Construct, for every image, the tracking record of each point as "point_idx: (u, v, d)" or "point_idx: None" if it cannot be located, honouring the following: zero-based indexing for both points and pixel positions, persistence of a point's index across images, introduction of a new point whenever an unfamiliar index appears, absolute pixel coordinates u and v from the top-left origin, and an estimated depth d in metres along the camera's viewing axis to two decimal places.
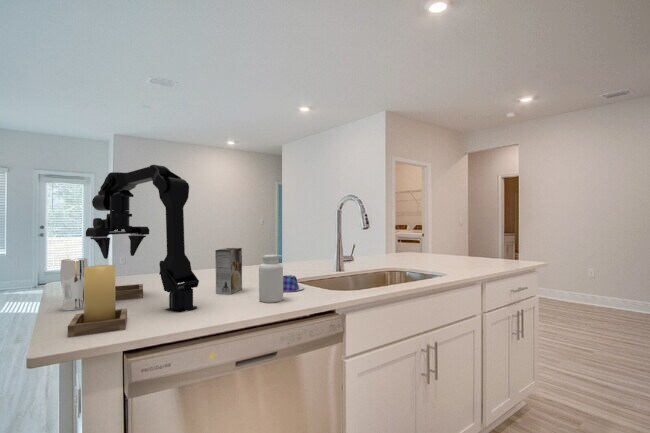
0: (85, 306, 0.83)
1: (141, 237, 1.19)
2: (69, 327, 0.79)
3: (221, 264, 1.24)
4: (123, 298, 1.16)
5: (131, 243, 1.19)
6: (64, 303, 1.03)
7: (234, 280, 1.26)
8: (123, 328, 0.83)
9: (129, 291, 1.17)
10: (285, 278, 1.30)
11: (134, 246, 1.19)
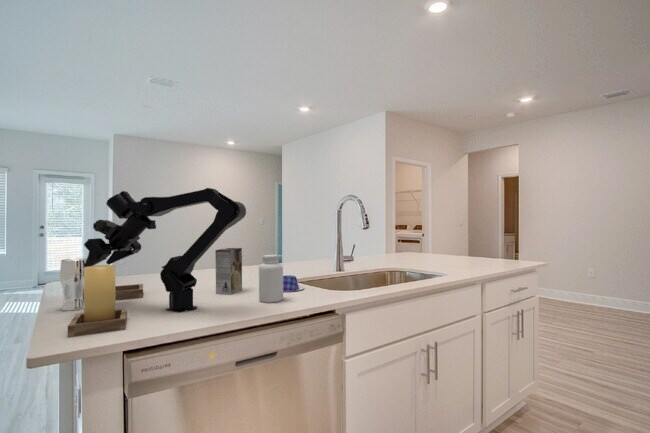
0: (85, 306, 0.83)
1: (129, 255, 1.11)
2: (69, 327, 0.79)
3: (221, 264, 1.24)
4: (123, 298, 1.16)
5: (114, 252, 1.10)
6: (64, 303, 1.03)
7: (234, 280, 1.26)
8: (123, 328, 0.83)
9: (129, 291, 1.17)
10: (285, 278, 1.30)
11: (116, 258, 1.09)
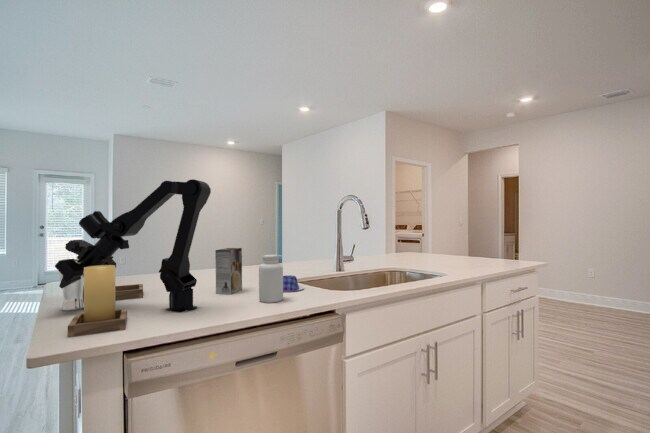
0: (85, 306, 0.83)
1: None
2: (69, 327, 0.79)
3: (221, 264, 1.24)
4: (123, 298, 1.16)
5: None
6: (64, 303, 1.03)
7: (234, 280, 1.26)
8: (123, 328, 0.83)
9: (129, 291, 1.17)
10: (285, 278, 1.30)
11: None
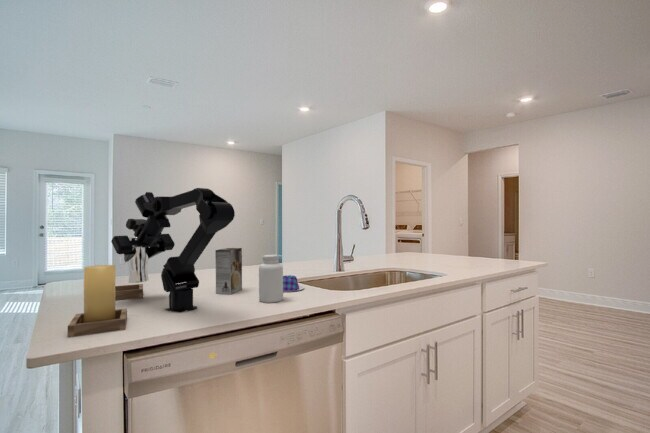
0: (85, 306, 0.83)
1: (159, 252, 1.18)
2: (69, 327, 0.79)
3: (221, 264, 1.24)
4: (123, 298, 1.16)
5: (149, 249, 1.19)
6: (129, 276, 1.15)
7: (234, 280, 1.26)
8: (123, 328, 0.83)
9: (129, 291, 1.17)
10: (286, 278, 1.30)
11: (150, 254, 1.19)
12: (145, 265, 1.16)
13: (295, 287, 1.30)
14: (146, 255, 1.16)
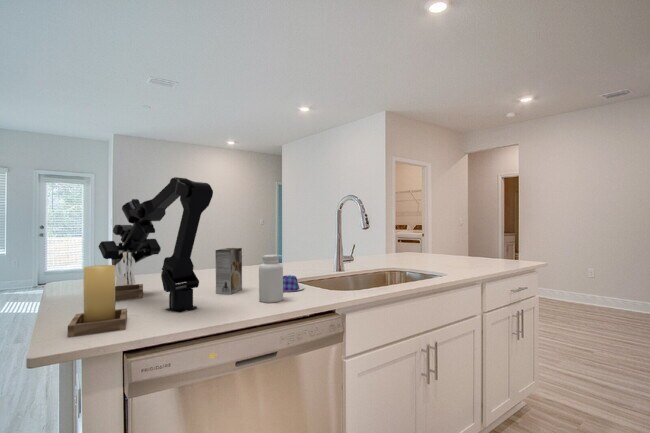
0: (85, 306, 0.83)
1: (146, 256, 1.22)
2: (69, 327, 0.79)
3: (221, 264, 1.24)
4: (123, 298, 1.16)
5: (136, 253, 1.24)
6: None
7: (234, 280, 1.26)
8: (123, 328, 0.83)
9: (129, 291, 1.17)
10: (286, 278, 1.30)
11: (137, 259, 1.23)
12: (132, 269, 1.21)
13: (295, 287, 1.30)
14: (133, 259, 1.21)
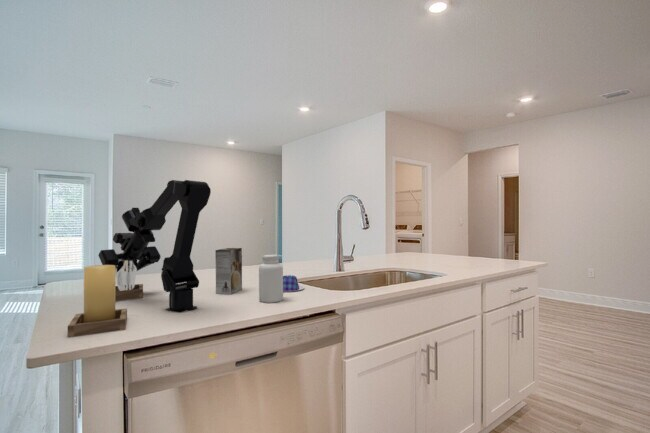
0: (85, 306, 0.83)
1: (149, 264, 1.24)
2: (69, 327, 0.79)
3: (221, 264, 1.24)
4: (123, 298, 1.16)
5: (139, 261, 1.25)
6: (117, 289, 1.20)
7: (234, 280, 1.26)
8: (123, 328, 0.83)
9: (129, 291, 1.17)
10: (286, 278, 1.30)
11: (140, 266, 1.24)
12: (133, 279, 1.21)
13: (295, 287, 1.30)
14: (134, 269, 1.21)
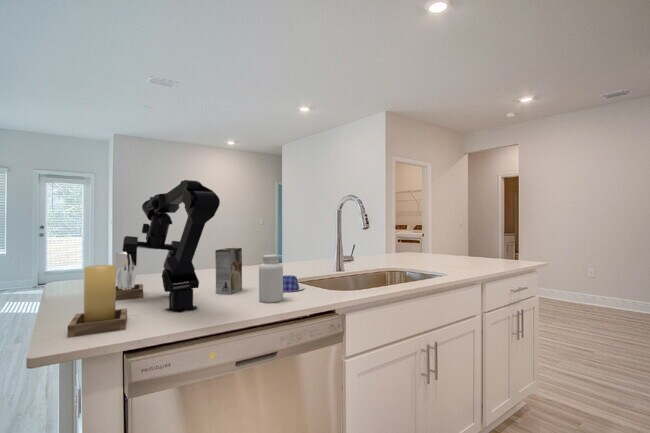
0: (85, 306, 0.83)
1: None
2: (69, 327, 0.79)
3: (221, 264, 1.24)
4: (123, 298, 1.16)
5: None
6: (117, 290, 1.20)
7: (234, 280, 1.26)
8: (123, 328, 0.83)
9: (129, 291, 1.17)
10: (286, 278, 1.30)
11: (166, 261, 1.21)
12: (133, 280, 1.21)
13: (296, 287, 1.30)
14: (134, 270, 1.21)
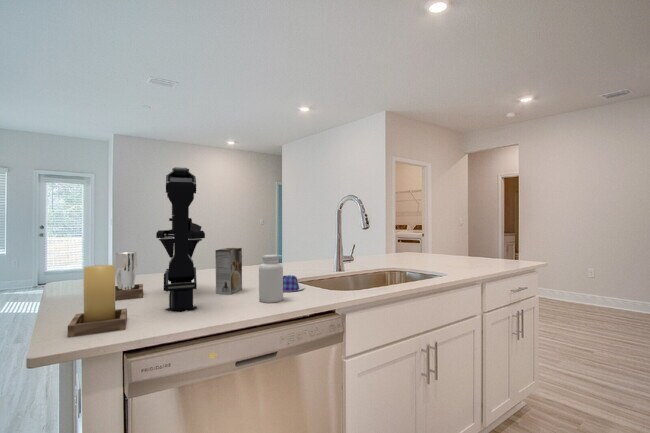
0: (85, 306, 0.83)
1: None
2: (69, 327, 0.79)
3: (221, 264, 1.24)
4: (123, 298, 1.16)
5: None
6: (117, 290, 1.20)
7: (234, 280, 1.26)
8: (123, 328, 0.83)
9: (129, 291, 1.17)
10: (287, 278, 1.30)
11: None
12: (133, 280, 1.21)
13: (296, 287, 1.30)
14: (134, 270, 1.21)
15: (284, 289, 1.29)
